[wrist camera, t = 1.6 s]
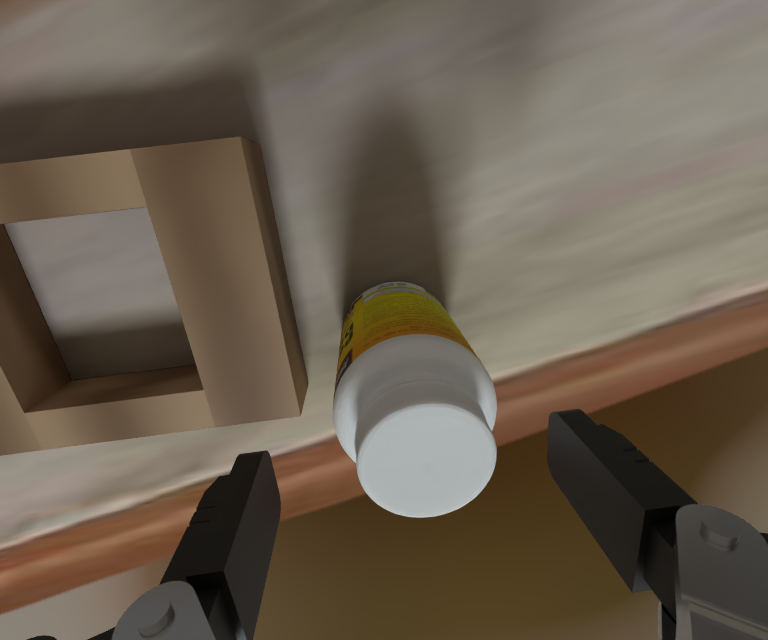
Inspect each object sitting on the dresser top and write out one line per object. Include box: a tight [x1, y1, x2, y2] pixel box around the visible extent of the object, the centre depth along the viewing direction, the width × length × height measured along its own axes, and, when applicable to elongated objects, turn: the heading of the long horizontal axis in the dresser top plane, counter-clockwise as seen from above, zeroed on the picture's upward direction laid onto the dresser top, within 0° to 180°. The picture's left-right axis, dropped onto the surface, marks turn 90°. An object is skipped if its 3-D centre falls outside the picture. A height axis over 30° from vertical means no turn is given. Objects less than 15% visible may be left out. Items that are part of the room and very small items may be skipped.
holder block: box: [0, 136, 308, 456], centre depth 17 cm, size 16×12×3 cm
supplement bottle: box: [333, 282, 497, 517], centre depth 15 cm, size 6×6×10 cm
